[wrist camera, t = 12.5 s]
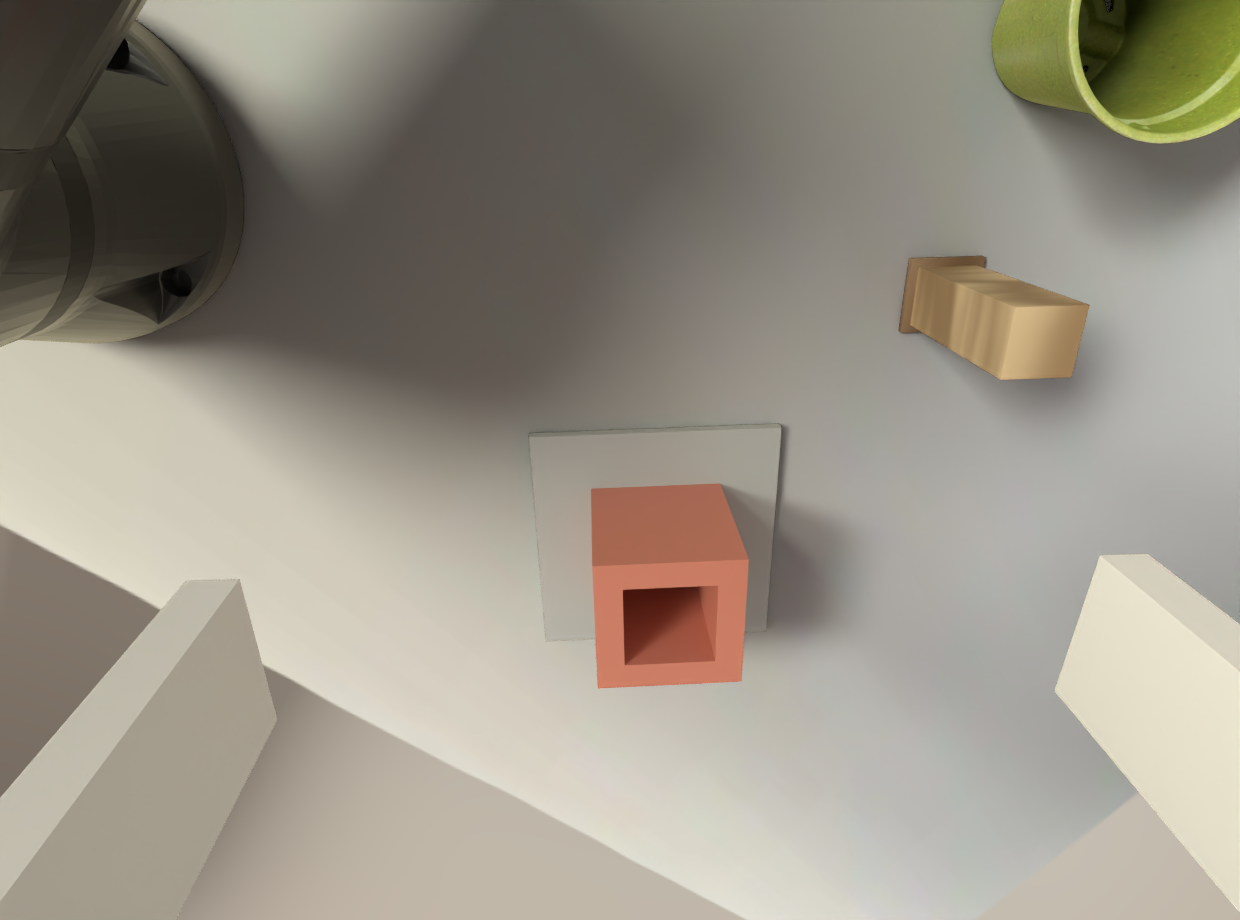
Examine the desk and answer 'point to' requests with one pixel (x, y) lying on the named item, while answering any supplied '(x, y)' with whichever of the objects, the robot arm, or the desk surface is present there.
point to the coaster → (637, 461)
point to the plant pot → (1126, 62)
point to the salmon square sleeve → (667, 586)
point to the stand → (992, 318)
